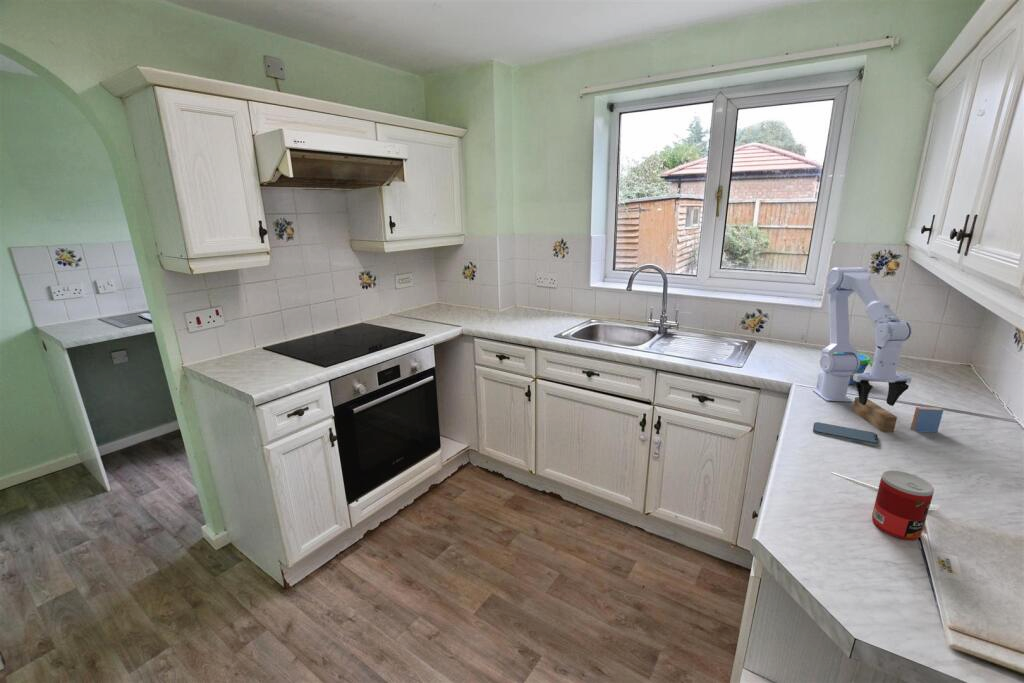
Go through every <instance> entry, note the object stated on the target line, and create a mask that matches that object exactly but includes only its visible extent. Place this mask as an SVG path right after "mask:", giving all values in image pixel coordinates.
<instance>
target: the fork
mask: <svg viewBox="0 0 1024 683" xmlns="http://www.w3.org/2000/svg"><path fill="white" fill-rule="evenodd" d="M832 473H833V474H832ZM831 474H832V475H835V474H836V475H835V476H837V475H838V477H840V476H841V477H840V478H842V477H843V479H845V480H847V479H848V480H847V481H850V482H852V481H853V483H855V482H856V484H857V485H858V484H859V485H860V484H861V485H860V486H863V487H865V486H866V487H865V488H868V487H869V488H868V489H870V488H871V489H870V490H873V489H874V490H873V491H875V490H876V492H878V489H879V486H878V487H877V486H876V485H872V484H869V483H867V482H863V481H860V480H858V479H855V478H851V477H848V476H846V475H842V474H839V473H837V472H834V471H832V472H831ZM941 506H942V505H941V504H930V507H929V510H928V512H931V511H938V510H939V508H941Z"/></svg>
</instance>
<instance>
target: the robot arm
mask: <svg viewBox="0 0 1024 683" xmlns="http://www.w3.org/2000/svg"><path fill="white" fill-rule="evenodd" d="M871 277H872V274H871V273H870V271H869V270H868V269H867V267H864V266H859V267H837V266H836V267H833V268H831V269H830V271H828V274H827V275H826V293H827V294H828V317H829V318H828V320H829V322H828V323H829V344H828V345H827V346H826V347H824V348H823V349H822V350H821V356H820V358H819V359H820V360H819V366H820V368H821V370H820V371H819V372H818V375H817V380H816V385H815V388H812V391H813V392H814V393H815V394H817V395H818V396H820V397H821V398H822V399H824V400H825V401H826V402H848V403H849V402H852V399H850V398H849V397H848V396H847V394H848V390H849V389H848V388H849V385H850V384H849V380H850V375H853V372H855V371H857V370H858V368H859V366H860V360H859V358H858V355H857V353H858V349H856V348H855V347H854V346H853V345H851V344H850V325H849V324H850V320H849V319H850V318H849V297H850V296H851V294H855V293H856V295H857V296H858V297H859V299H860V300H861V301H862V302H863V303H864V304H865V306H866V308H865V314H866V315H867V317H868V319H869V320H870V321H871V323H872V324H873V325H874V329H873V333H874V337H875V340H874V345H875V351H874V354H873V358H872V359H873V361H872V362H873V364H872V367H871V370H870V372H864V373H859V374H854V376H853V380H854V382H855V384H854V385H855V386H856V389H857V394H858V397H859V403H861V404H862V405H866V403H867V399H869V395H870V392H871V390H872V389H873V387H874V386H873V385H871V384H870V382H873V383H874V382H878V383H887V384H888V392H887V396H886V404H887V405H888V406H891V407H893V406H895V404H896V402H897V401H898V399H899V398H900V397H901V395H902V394H903V393H905V391H907V390H908V389H909V387H910V385H909V384H911V382H912V378H913V377H912V376H909V375H908V374H899V373H897V371H898V366H899V363H900V358H901V353H902V349H903V345H904V342H906V341H907V340H909V339H910V338H911V335H912V326H911V325H910V323H909V321H907V320H903V319H902V318H899V317H898V316H897V314H896V313H895V311H894V310H893V309H892V308H891V305H890V303H889V302H887V301H885V300H881V299H880V297H878V295H877V293H876V291H875V288H873V285H872V284H871ZM836 352H843V353H845V354H834V353H836Z"/></svg>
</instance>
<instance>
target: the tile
mask: <svg viewBox="0 0 1024 683" xmlns="http://www.w3.org/2000/svg"><path fill="white" fill-rule="evenodd" d="M943 413H944V409H942V408H941V407H930V406H929V407H928V406H915V410H914V413H913V414H914V415H913V417H912V421H911V422H912V423H911V425H910V426H911V427H910V430H912V431H913V432H922V433H924V432H926V433H938V432H939V427H940V425H941V420H942V417H943V415H944V414H943Z"/></svg>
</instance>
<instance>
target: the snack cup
mask: <svg viewBox="0 0 1024 683" xmlns="http://www.w3.org/2000/svg"><path fill="white" fill-rule="evenodd" d="M834 354H845V353H843V352H835V353H834ZM857 355H858V358H859V360H860V366H859V368H858V370H857V371H855V372H853V375H850V380H849V383H850V384H849V385H856V384H855V382H854V380H853V376H854V374H859V373H865V370H866V369H867V367H868V365H870V367H871V368H872V364H873V361H872V360H871V357H869V356H868V355H866V354H863V353H859V352H857Z"/></svg>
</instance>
